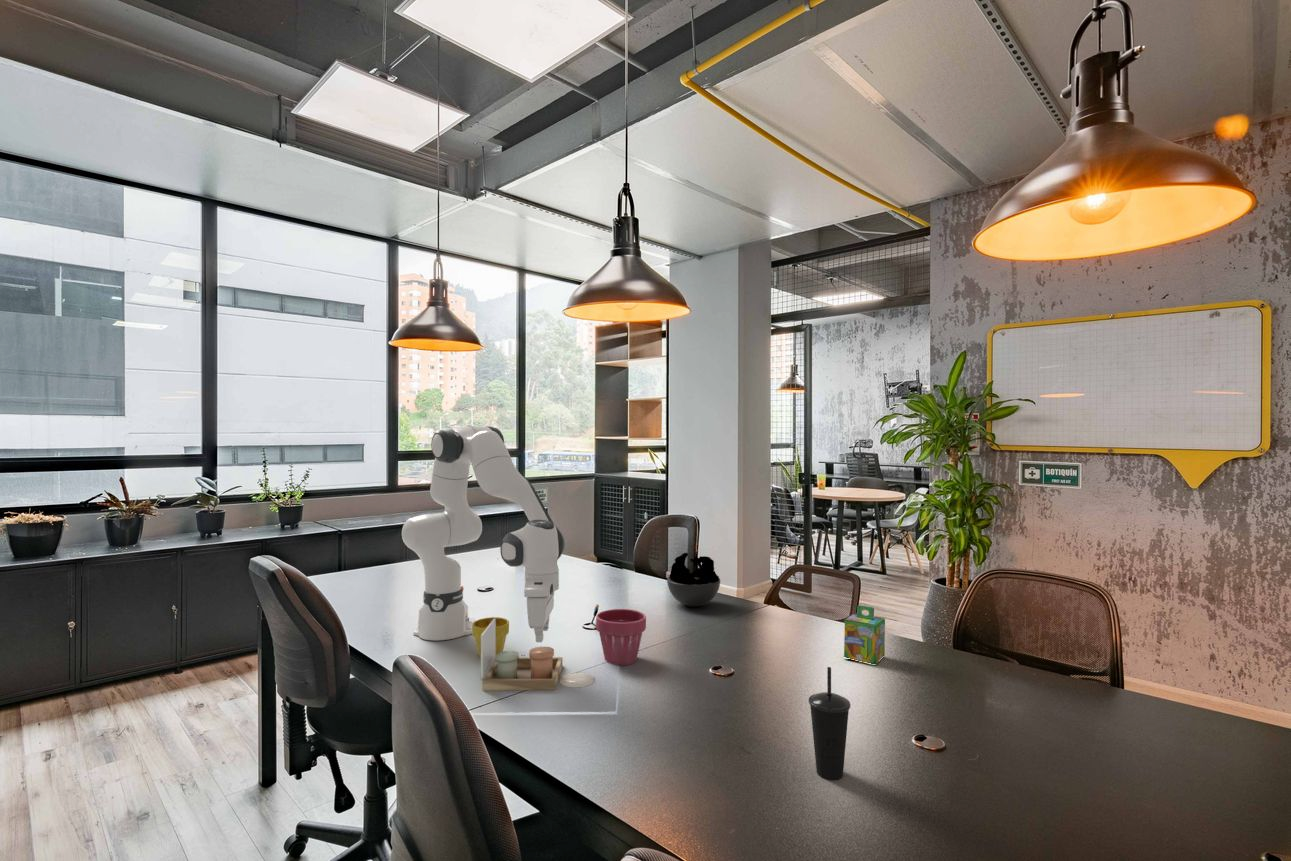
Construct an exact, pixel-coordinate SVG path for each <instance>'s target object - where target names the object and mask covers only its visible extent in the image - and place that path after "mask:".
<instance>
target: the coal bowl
mask: <svg viewBox="0 0 1291 861" xmlns="http://www.w3.org/2000/svg"><path fill="white" fill-rule="evenodd" d="M688 556H689V553H688V552H684V553H682V554H680V555H679V556H677V557H675V558H674V562H673V563H672V565H671V567H670V568H671V569H670V573H669V576H668V577H667V578H666V583H667V586H668V590H669V592H670V593H671V595H672V596H673V598H674V599H675V600H676V601H677V602H679V603H680V604H682V605H685V606H686V607H702V606H704V605H706V604H708V603H709V602H711V601H712V600H713V599H714V598H715V597H716V596H717V594H718V592H719V589H720V586H721V578H720V576H719V575H717V573H716V571H715V561H714V559H713V558H711V557H710V556H706V555H704V556H702V555H701V556H698V557H697V556H695V557H694V558H690V559H689V561H690V562H692V563H693V564H694V565H697V568H696V570H694V571H693V572H690V571H691V570H690V569H689V568H688V567H687V566H686V559H687V557H688Z"/></svg>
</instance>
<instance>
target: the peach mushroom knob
mask: <svg viewBox="0 0 1291 861" xmlns="http://www.w3.org/2000/svg"><path fill="white" fill-rule="evenodd" d="M528 657H530V658H531V679H551V678H552V657H555V649H554V648H553V647H551V646H538V647H537V646H536V647H533V648H531V649H530V650H529V651H528Z"/></svg>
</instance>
